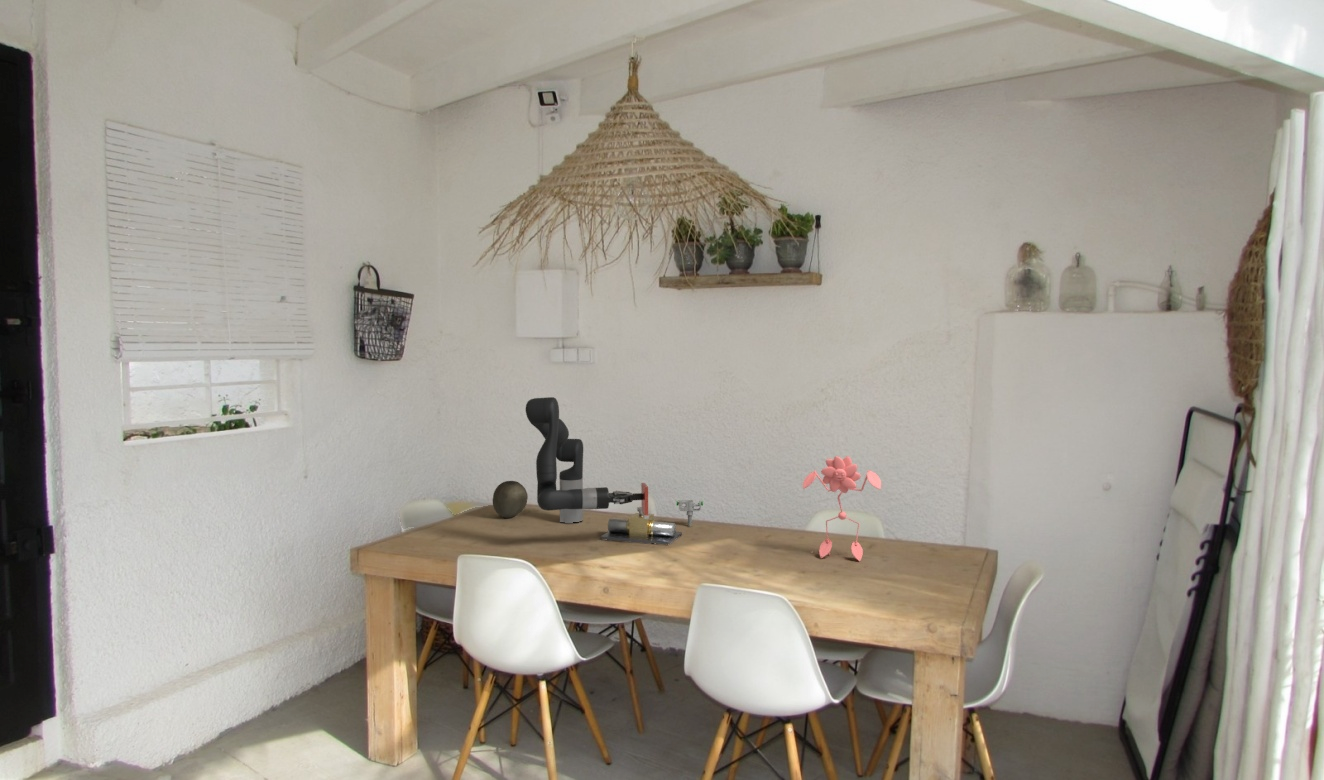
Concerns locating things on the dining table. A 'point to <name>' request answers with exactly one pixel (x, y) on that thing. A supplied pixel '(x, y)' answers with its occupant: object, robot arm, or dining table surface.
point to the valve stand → (641, 530)
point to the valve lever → (644, 501)
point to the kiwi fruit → (509, 499)
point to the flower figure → (841, 478)
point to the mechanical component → (689, 508)
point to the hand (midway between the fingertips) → (643, 496)
